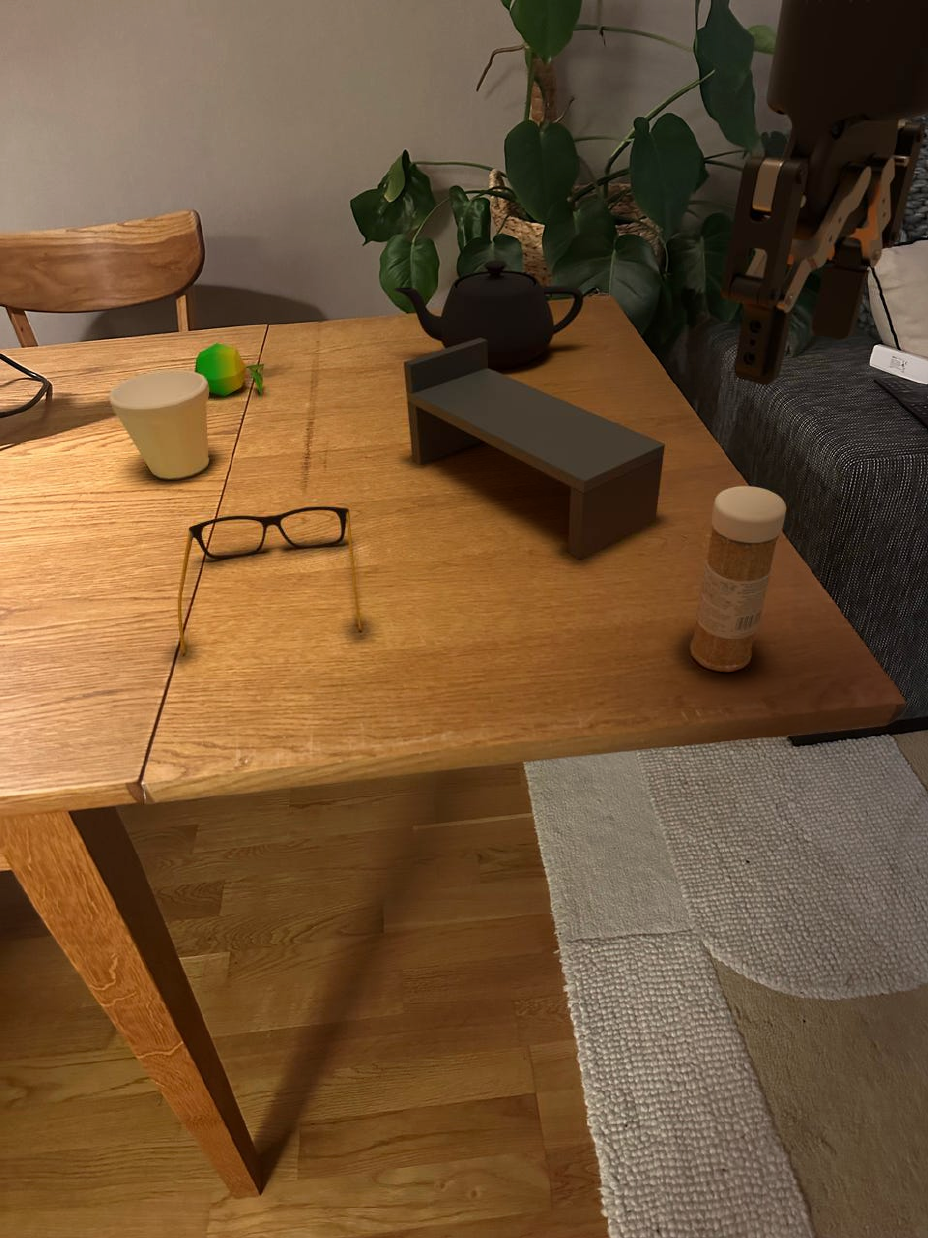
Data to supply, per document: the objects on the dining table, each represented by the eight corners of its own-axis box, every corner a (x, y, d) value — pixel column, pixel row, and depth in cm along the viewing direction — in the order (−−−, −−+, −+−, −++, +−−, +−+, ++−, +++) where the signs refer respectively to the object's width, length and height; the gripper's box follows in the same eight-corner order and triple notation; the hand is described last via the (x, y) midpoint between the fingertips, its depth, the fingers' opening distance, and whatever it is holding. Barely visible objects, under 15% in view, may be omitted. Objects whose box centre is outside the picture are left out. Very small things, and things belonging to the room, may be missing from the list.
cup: (242, 469, 88) (222, 388, 83) (153, 500, 84) (126, 416, 78) (205, 439, 95) (185, 361, 89) (121, 466, 90) (94, 386, 84)
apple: (184, 337, 101) (256, 330, 101) (199, 356, 107) (267, 350, 108) (189, 393, 101) (262, 386, 101) (204, 408, 107) (272, 402, 107)
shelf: (656, 521, 77) (669, 411, 70) (580, 560, 72) (586, 448, 65) (483, 432, 93) (480, 337, 86) (412, 460, 88) (403, 361, 82)
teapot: (572, 331, 118) (575, 241, 110) (590, 371, 106) (595, 273, 98) (401, 341, 118) (393, 251, 110) (399, 382, 106) (390, 285, 98)
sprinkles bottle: (733, 631, 63) (765, 479, 55) (762, 669, 60) (801, 512, 52) (678, 641, 63) (703, 488, 54) (704, 680, 59) (735, 522, 51)
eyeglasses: (353, 537, 76) (347, 501, 74) (362, 632, 65) (356, 592, 63) (199, 556, 75) (189, 519, 73) (182, 656, 64) (168, 616, 61)
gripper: (898, -16, 28) (796, 418, 38) (1032, -29, 36) (917, 336, 46) (709, -11, 32) (662, 378, 43) (864, -24, 40) (793, 309, 50)
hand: (794, 356), depth 44 cm, fingers open, 8 cm apart
